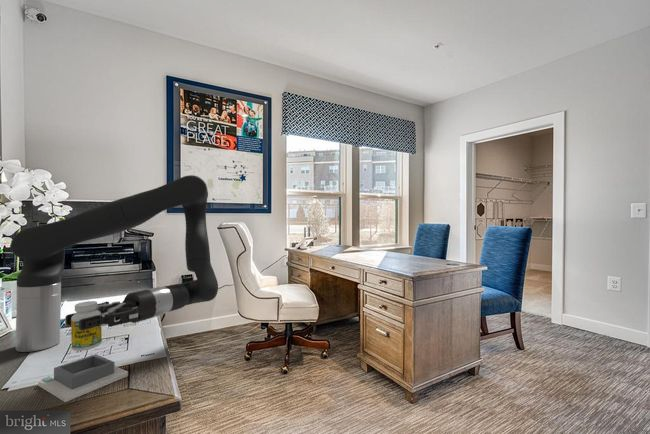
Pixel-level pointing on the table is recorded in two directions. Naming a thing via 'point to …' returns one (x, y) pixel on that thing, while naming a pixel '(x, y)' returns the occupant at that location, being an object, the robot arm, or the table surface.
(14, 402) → the table surface
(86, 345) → the supplement bottle
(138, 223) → the robot arm
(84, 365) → the dock
